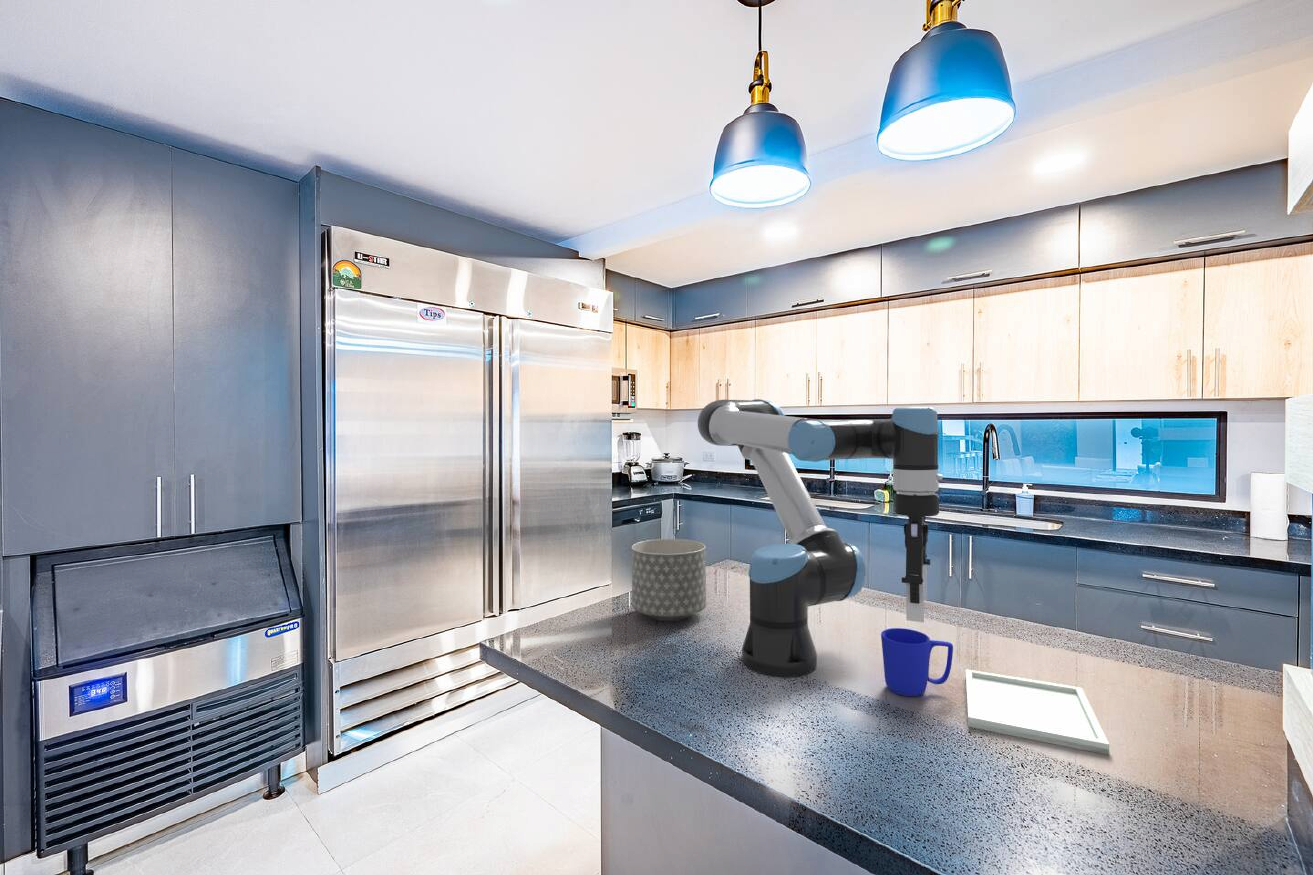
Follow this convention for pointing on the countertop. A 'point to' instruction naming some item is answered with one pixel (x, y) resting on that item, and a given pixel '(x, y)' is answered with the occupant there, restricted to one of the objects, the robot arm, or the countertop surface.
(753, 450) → the robot arm
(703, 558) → the planter
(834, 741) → the countertop surface
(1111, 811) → the countertop surface
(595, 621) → the countertop surface
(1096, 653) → the countertop surface
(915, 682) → the mug
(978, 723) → the tray
